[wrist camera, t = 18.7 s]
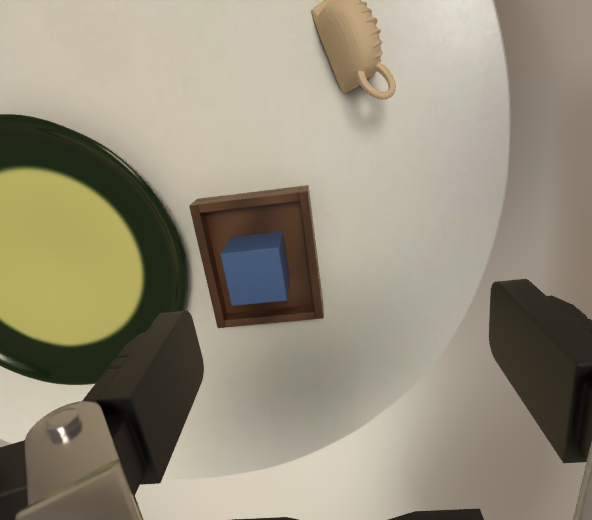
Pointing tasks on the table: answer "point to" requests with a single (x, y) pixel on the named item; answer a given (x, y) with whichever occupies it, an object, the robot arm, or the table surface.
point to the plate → (77, 253)
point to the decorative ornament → (352, 44)
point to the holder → (258, 220)
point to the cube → (256, 268)
